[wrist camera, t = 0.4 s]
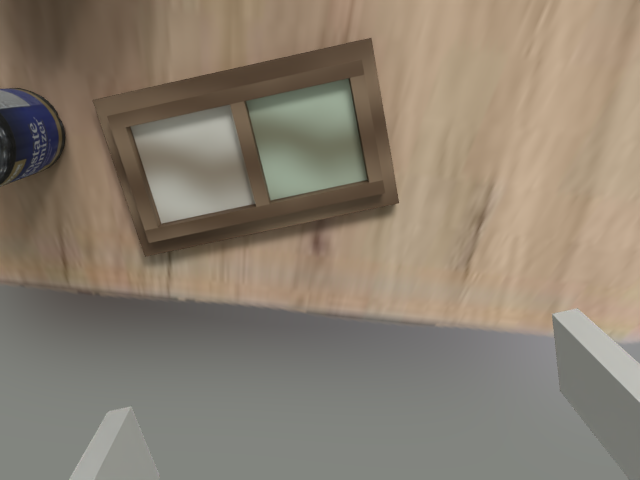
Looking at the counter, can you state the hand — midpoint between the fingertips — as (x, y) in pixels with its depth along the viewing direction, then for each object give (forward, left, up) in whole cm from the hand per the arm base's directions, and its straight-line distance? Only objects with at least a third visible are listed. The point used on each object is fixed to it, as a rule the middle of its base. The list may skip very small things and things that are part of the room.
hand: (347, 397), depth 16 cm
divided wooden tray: (-5, -4, -26) cm, 27 cm away
